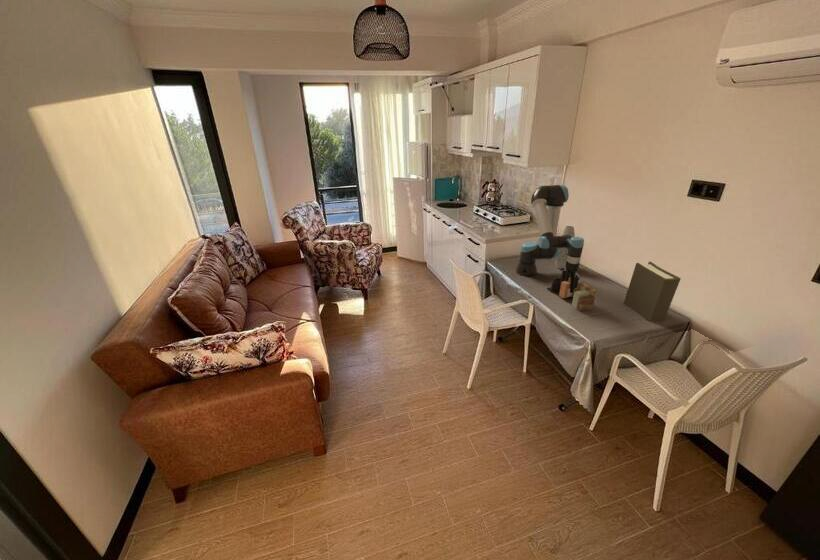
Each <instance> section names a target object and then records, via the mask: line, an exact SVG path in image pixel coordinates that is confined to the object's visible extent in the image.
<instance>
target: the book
mask: <svg viewBox="0 0 820 560" xmlns="http://www.w3.org/2000/svg"><path fill="white" fill-rule="evenodd" d="M681 279H682V278H681V277H679V276H677V275H675V274H672V273H671V272H669V271H667V270H665V269H663V268H662V267H660V266H658V265H656V264H655V263H654V262H652V261H648V263H647V264H641V263H640V262H636V263H635V266H634V270H633V272H632V276H631V278H630V282H629V285H628V288H627V290H626V294H625V299H624V302H623V304H624V305H626V306H628V307H629V308H631V309H632V310H633V311H635V312H637V313H638V314H639V315H640V316H642V317H643V318H645V319H646V321H648V322H653V323H656V322H657V321H658V322H662V320H663V321H665V320H666V318H667V314H668V312H669V309H670V307H671V304H672V303H673V299H674V297H675V294H676V291H677V289H678V287H679V284H680V282H681ZM658 322H657V323H658Z"/></svg>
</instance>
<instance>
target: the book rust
mask: <svg viewBox="0 0 820 560" xmlns="http://www.w3.org/2000/svg"><path fill="white" fill-rule="evenodd" d="M569 287H570V280H568V281H563V282H561V288H560V290H559V294H558V296H559V297H561V298H563V299H566V298H568V297H567V295H568V290H569ZM574 292H575V289H574V290H573V293H572V296H571V297H573V296H574Z"/></svg>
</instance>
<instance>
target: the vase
mask: <svg viewBox="0 0 820 560" xmlns="http://www.w3.org/2000/svg"><path fill="white" fill-rule="evenodd" d="M564 234H569V235H571V236H573V237H576V236H575V227H574V226H573V225H566V226H565V227H564V229H563V232H562V235H564ZM562 235H561V236H562ZM567 256H568V249H567V248H559V254H558V256H557V257H556V258H555V259H553V260H554V264H555V265H556V267H557V269H559V270H562V268H564V267H566V262H567Z"/></svg>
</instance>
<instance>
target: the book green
mask: <svg viewBox="0 0 820 560" xmlns="http://www.w3.org/2000/svg"><path fill="white" fill-rule="evenodd" d="M589 295H590V292H589V291H587V290H580V291H576V292H574V296H572V297H573V298H572V302H571V307H572V308H574V309H576V307H577V303H578V298H581V297H585V296H589Z"/></svg>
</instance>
